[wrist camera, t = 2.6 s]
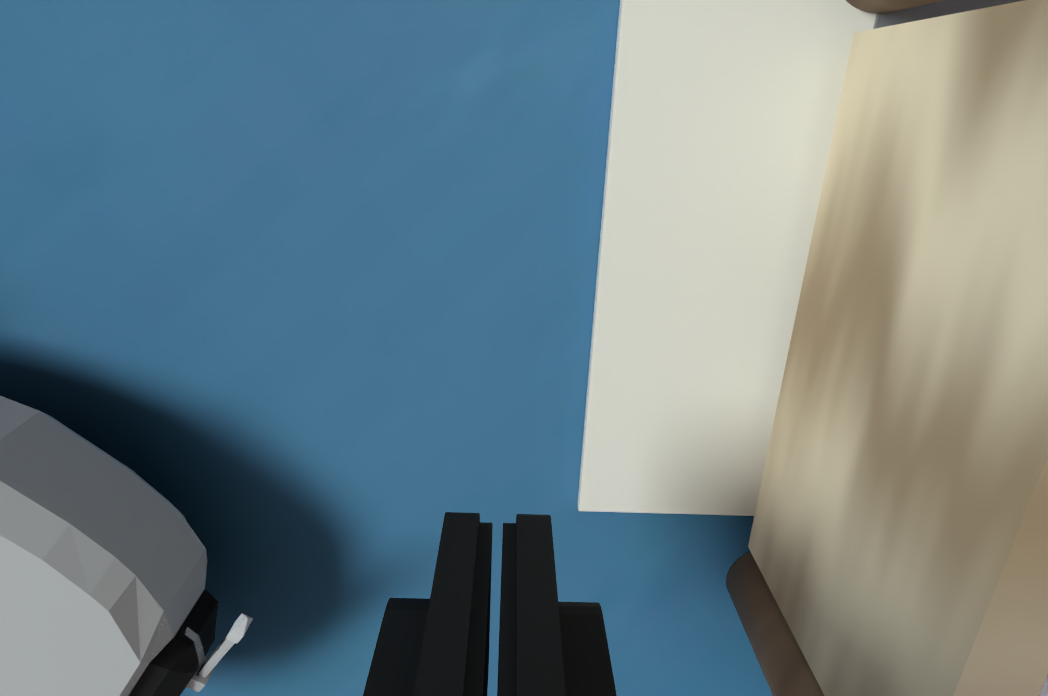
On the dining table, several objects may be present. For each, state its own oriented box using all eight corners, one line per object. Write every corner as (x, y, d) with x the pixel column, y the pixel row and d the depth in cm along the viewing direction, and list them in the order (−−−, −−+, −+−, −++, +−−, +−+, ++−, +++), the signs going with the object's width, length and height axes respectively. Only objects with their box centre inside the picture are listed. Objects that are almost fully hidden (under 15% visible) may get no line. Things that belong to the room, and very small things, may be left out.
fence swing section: (834, 31, 12) (1197, -43, 6) (936, 36, 12) (1415, -33, 6) (721, 606, 17) (844, 914, 11) (793, 608, 17) (961, 916, 11)
